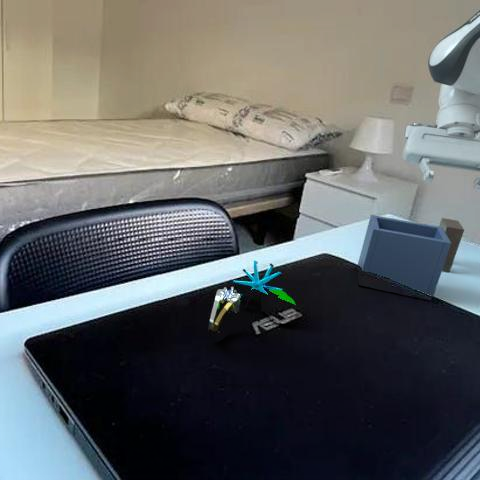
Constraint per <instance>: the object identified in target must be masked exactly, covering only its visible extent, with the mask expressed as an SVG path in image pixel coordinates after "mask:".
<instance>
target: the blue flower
mask: <svg viewBox="0 0 480 480" xmlns="http://www.w3.org/2000/svg"><path fill="white" fill-rule="evenodd" d="M252 262H253V275H252V274H251V273H250V272H249V271H248V270H246V269H245V268H243V269H242V272H243V273H245V275H246V276H247V278H249V279H250V281H245V280H233V283H234V282H235V283H239V284H238V285H241V284H242V285H241V286H248V287H251V288H252V289H256V290H259V291H260V292H263V293H265V294H267V295H268V293H267V292H266V291H265V290H264V288H263V287H265V288H267V289H269V291H270V292H272V293H274V294H276V295H279V296H278V298H280V299H282V300H285V301H287V302H290V303H292V304H294V305H296V306H297V303H296V302H295V300H294V299H293V298H292V297H291V296H289V295H288V293H286V292H287V290H286V289H285V288H279V287H274V286H269V285H266V284H267V283H268V282H270V281H272V280H273V279H275V278H277V277H279V276H280V277H282V276H283V274H282V272H281V271H278V272H276V273H274V274H271V273H272V271H273V270H274V267H275V265H274V264H273V263H269V268H268V270H266V272H265V274H264V276H263V278H262V279H260V276H259V269H258V263H259V262H258V261H257V260H253V261H252ZM235 283H234V284H235ZM265 285H266V286H265Z"/></svg>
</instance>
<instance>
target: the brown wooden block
mask: <svg viewBox="0 0 480 480" xmlns="http://www.w3.org/2000/svg"><path fill="white" fill-rule="evenodd" d="M438 227H443V229H444V231H445V233H446V235H447V237H448V238H449V240H450V242H451V245H450V248H449V251H448V254H447V257H446V260H445V263H444V266H443V269H442V272H445V273H450V272H451V269H452V267H453V264H454V261H455V257H456V255H457V252H458V249H459V246H460V244H461V241H462V238H463V235H464V232H465V228H464V227H463V226H462V224H461V222H460V221H459V220H456V219H450V218H444V217H441V220H440V222H439V226H438Z"/></svg>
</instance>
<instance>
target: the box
mask: <svg viewBox="0 0 480 480" xmlns="http://www.w3.org/2000/svg"><path fill="white" fill-rule="evenodd" d="M450 245H451V242H450V240H449V238H448V237H447V235H446V233H445V231H444V229H443V227H439V226H438V225H433V224H432V225H431V224H427V223H421V222H415V221H410V220H409V221H408V220H403V219H397V218H391V217H386V216H381V215H375V214H370V217H369V221H368V224H367V228H366V231H365V236H364V239H363V243H362V247H361V250H360V254H359V257H358V262H357V265H359V266H360V267H361V268H362V271H365V272H371V273H374V274H377V275H380V276H383V277H386V278H389V279H391V280H394V281H396V282H399V283H401V284H404V285H407V286H409V287H411V288H414V289H416V290H419V291H421V292H424V293H426V294H429V295H431V296H433V297H434V295H435V292H436V289H437V287H438V284H439V280H440V278H441V274H442V272H443V271H442V269H443V266H444V263H445V260H446V257H447V254H448V251H449V248H450Z"/></svg>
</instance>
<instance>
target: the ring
mask: <svg viewBox="0 0 480 480" xmlns="http://www.w3.org/2000/svg"><path fill="white" fill-rule="evenodd" d="M241 296H242V294H241V293H238V291H237V290H236V289H234V286H231V287H230V289H227V287H226V286H225V287H223V288H222V289H221V288H219V289H217V291H216V294H215V298H214V302H213V306H212V309H211V313H210V318H209V323H208V330H209V329H211V330H212V331H217V330H219V327H220V325H221V323H222V321H223V319H224V317H225V316H226V314H227V312H228V310H229V309H230V310H229V312H230V311H232V312H233V311H234V312H235V313H237V312H239V313H240V308H241V300H240V298H241ZM225 302H226V304H225V305H224V306H223V308H222V309H221V311H220V312H219V309H220V305H221V304H224V303H225ZM218 312H219V314H218ZM217 332H218V331H217Z"/></svg>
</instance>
